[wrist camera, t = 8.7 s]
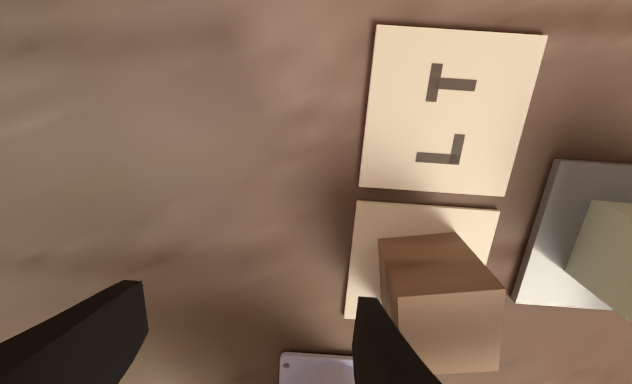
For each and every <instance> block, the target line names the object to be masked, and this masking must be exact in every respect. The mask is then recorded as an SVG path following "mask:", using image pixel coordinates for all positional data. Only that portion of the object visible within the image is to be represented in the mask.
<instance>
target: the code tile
mask: <svg viewBox="0 0 632 384" xmlns="http://www.w3.org/2000/svg"><path fill="white" fill-rule="evenodd" d="M547 38H548V36H546V35H530V34H515V33H500V32H484V31H469V30H454V29H438V28H423V27H408V26H392V25H376V31H375V40H374V49H373V58H372V67H371V76H370V85H369V94H368V103H367V112H366V121H365V130H364V139H363V148H362V157H361V166H360V175H359V184H358V186H359V187H370V188H384V189H399V190H414V191H429V192H444V193H458V194H473V195H488V196H503V197H504V196H505V193H506V189H507V185H508V182H509V178H510V174H511V171H512V167H513V163H514V160H515V156H516V152H517V148H518V145H519V141H520V137H521V134H522V130H523V126H524V123H525V119H526V115H527V112H528V108H529V104H530V101H531V97H532V93H533V90H534V86H535V82H536V79H537V75H538V71H539V68H540V64H541V60H542V57H543V53H544V49H545V45H546V42H547Z"/></svg>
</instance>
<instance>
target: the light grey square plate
mask: <svg viewBox="0 0 632 384" xmlns="http://www.w3.org/2000/svg"><path fill="white" fill-rule="evenodd" d="M592 200H598V201H610V202H622V203H632V164H627V163H612V162H597V161H582V160H567V159H554V160H553V164H552V167H551V170H550V173H549V176H548V180H547V183H546V186H545V189H544V192H543V195H542V199H541V202H540V205H539V208H538V211H537V215H536V218H535V221H534V224H533V227H532V231H531V234H530V237H529V240H528V243H527V247H526V250H525V253H524V256H523V259H522V263H521V266H520V269H519V272H518V275H517V279H516V282H515V285H514V288H513V291H512V295H511V299H512V300H513V301H514V302H515V303H517V304H531V305H546V306H560V307H575V308H589V309H604V310H613V309H612V308H611V307H609V306H608V305H607V304H606V303H604V302H603V301H602V300H601V299H599V298H598V297H597V296H595V295H594V294H593V293H592V292H590V291H589V290H588V289H587V288H585V287H584V286H583V285H581V284H580V283H579V282H578V281H576V280H575V279H574V278H572V277H571V276H570V275H569V274H567V273H566V272H565V268H566V266H567V263H568V261H569V258H570V255H571V253H572V250H573V248H574V245H575V243H576V240H577V237H578V235H579V232H580V230H581V227H582V224H583V222H584V219H585V217H586V214H587V211H588V209H589V206H590V204H591V201H592Z"/></svg>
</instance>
